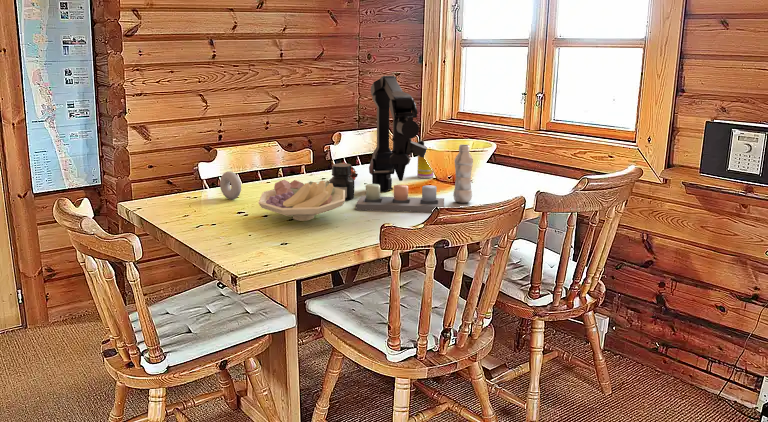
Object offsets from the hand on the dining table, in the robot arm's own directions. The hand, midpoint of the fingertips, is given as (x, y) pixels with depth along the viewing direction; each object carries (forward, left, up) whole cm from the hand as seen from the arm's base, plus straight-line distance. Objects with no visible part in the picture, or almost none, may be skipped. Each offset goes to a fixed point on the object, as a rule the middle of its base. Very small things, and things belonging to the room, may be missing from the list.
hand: (400, 180), depth 228 cm
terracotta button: (0, 0, -6) cm, 6 cm away
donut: (-56, -22, -9) cm, 61 cm away
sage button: (-8, -4, -6) cm, 11 cm away
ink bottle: (-24, 0, -9) cm, 26 cm away
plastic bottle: (+15, +17, -9) cm, 25 cm away
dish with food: (-19, -29, -9) cm, 36 cm away
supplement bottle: (-16, +49, -9) cm, 52 cm away
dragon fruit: (-38, +23, -9) cm, 45 cm away
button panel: (0, 0, -9) cm, 9 cm away
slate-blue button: (+9, +4, -6) cm, 11 cm away
